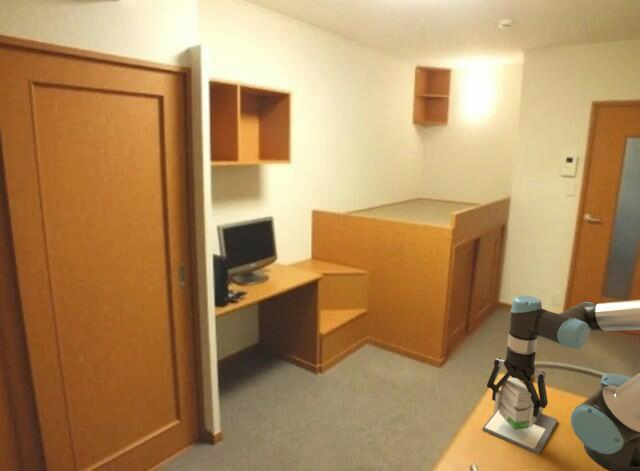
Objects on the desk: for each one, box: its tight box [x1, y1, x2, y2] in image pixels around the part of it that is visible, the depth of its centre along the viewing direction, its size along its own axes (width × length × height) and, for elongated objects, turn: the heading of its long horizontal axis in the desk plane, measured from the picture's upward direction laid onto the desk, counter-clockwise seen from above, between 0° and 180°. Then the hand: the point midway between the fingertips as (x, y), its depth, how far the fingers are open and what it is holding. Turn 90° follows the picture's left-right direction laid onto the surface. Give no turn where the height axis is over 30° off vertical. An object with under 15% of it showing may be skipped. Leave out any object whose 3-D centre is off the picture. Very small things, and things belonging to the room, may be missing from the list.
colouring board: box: [482, 407, 559, 456], centre depth 131 cm, size 16×20×3 cm
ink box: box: [499, 377, 532, 430], centre depth 127 cm, size 9×5×12 cm, turn 8°
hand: (513, 417), depth 128 cm, fingers closed on ink box, 9 cm apart
